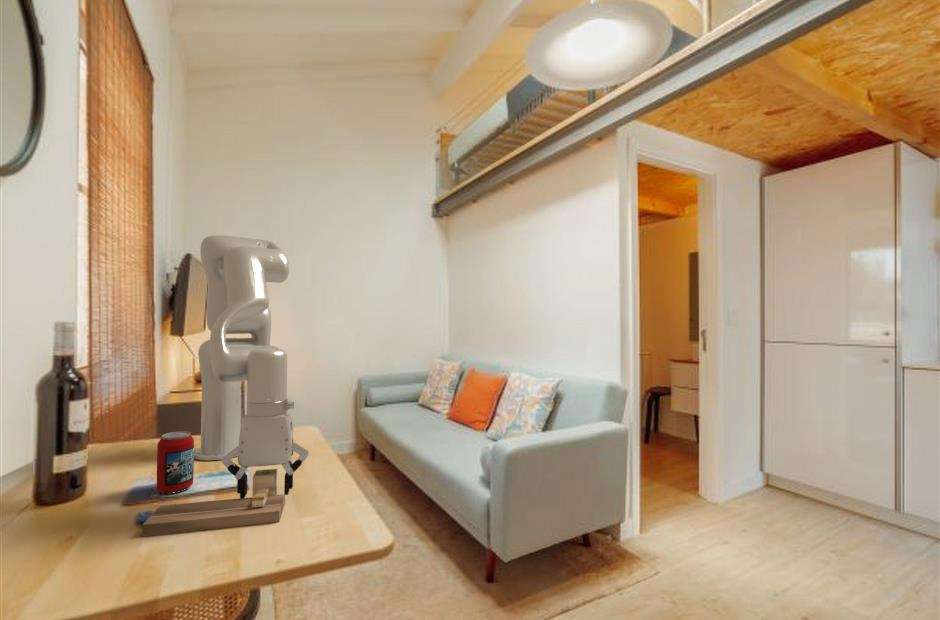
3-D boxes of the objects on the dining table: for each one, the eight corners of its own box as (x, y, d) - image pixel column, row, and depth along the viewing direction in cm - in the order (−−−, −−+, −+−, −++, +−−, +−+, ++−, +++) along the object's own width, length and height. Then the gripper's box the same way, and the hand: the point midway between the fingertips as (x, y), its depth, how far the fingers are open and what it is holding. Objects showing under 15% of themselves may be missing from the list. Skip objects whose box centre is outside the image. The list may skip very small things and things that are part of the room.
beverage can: (175, 496, 94) (176, 439, 94) (148, 494, 95) (149, 437, 95) (200, 485, 101) (201, 431, 101) (175, 482, 102) (176, 429, 102)
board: (160, 516, 85) (160, 505, 85) (284, 504, 91) (284, 494, 91) (142, 536, 77) (142, 524, 77) (279, 521, 83) (279, 510, 83)
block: (256, 499, 93) (256, 468, 93) (276, 497, 94) (277, 467, 95) (245, 520, 84) (246, 486, 84) (269, 518, 85) (269, 484, 85)
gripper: (312, 403, 98) (311, 483, 98) (224, 407, 94) (223, 491, 94) (310, 410, 91) (308, 497, 91) (214, 414, 87) (213, 506, 86)
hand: (265, 493), depth 92 cm, fingers open, 7 cm apart
